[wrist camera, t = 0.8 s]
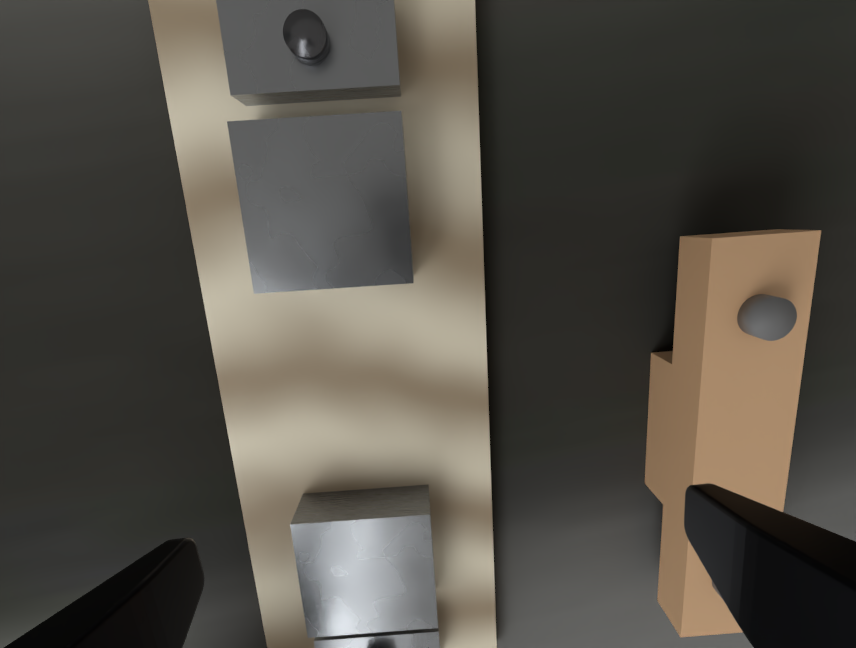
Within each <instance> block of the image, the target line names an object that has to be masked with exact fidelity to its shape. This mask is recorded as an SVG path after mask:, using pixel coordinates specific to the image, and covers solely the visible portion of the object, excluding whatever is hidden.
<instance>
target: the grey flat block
mask: <svg viewBox="0 0 856 648" xmlns="http://www.w3.org/2000/svg"><path fill="white" fill-rule="evenodd" d="M216 4H217V10H218V17H219V24H220V30H221V37H222V43H223V50H224V56H225V63H226V69H227V76H228V82H229V89H230V95H231V96H232V97H234V98H235V99H237V100H238V101H240V102H241V103H243V104H244V105H246V106H256V105H272V104H289V103H305V102H321V101H337V100H354V99H370V98H386V97H401V87H400V73H399V59H398V44H397V30H396V16H395V4H394V0H216ZM227 125H228V131H229V138H230V144H231V151H232V157H233V163H234V170H235V176H236V183H237V189H238V195H239V202H240V208H241V214H242V221H243V227H244V234H245V240H246V246H247V253H248V259H249V266H250V272H251V278H252V285H253V291H254V294H259V293H274V292H289V291H304V290H319V289H334V288H349V287H364V286H379V285H394V284H409V283H414V271H413V257H412V243H411V228H410V214H409V200H408V186H407V172H406V158H405V143H404V129H403V119H402V112H401V111H387V112H371V113H355V114H339V115H323V116H307V117H290V118H274V119H258V120H242V121H227Z"/></svg>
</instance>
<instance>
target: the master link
mask: <svg viewBox="0 0 856 648" xmlns="http://www.w3.org/2000/svg"><path fill="white" fill-rule="evenodd" d="M820 236H821V230H786V229H774V230H761V231H747V232H733V233H719V234H706V235H692V236H680V245H679V261H678V277H677V293H676V309H675V325H674V341H673V351H666V352H653V353H651V366H650V387H649V407H648V427H647V447H646V468H645V484H646V485H647V487H648V488H649V489H650V490H651V491H652V492H653V493H654V495H655V496H656V497H657V498H658V499H659V500H660V502H661V503H662V504H663V518H662V534H661V550H660V566H659V582H658V598H657V601H658V602H659V604H660V605H661V607H662V609H663V610H664V612H665V613H666V615H667V617H668V618H669V620H670V621H671V623H672V624H673V626H674V628H675V629H676V631H677V632H678V634H679V636H680V637H690V636H703V635H715V634H728V633H740V632H743V631H742V630H741V628H740V627H739V625H738V624H737V622H736V620H735V619H734V617H733V616H732V614H731V612H730V611H729V609H728V607H727V605H726V604H725V602H724V600H723V599H722V597H721V595H720V593H719V592H718V590H717V588H716V586H715V585H714V583H713V581H712V580H711V578H710V576H709V574H708V573H707V571H706V569H705V567H704V566H703V564H702V562H701V561H700V559H699V557H698V555H697V554H696V552H695V550H694V548H693V547H692V545H691V543H690V542H689V540H688V538H687V535H686V533H685V529H684V508H685V492H686V489H687V487H689V486H690V485H697V484H706V483H711V484H715V485H717V486H720V487H722V488H725V489H727V490H729V491H732V492H734V493H737V494H739V495H742V496H744V497H747V498H749V499H752V500H754V501H757V502H759V503H761V504H764V505H766V506H769V507H771V508H774V509H776V510H779V511H781V512H783V509H784V502H785V495H786V487H787V480H788V472H789V465H790V458H791V450H792V443H793V435H794V428H795V421H796V413H797V406H798V399H799V391H800V384H801V376H802V369H803V362H804V354H805V347H806V339H807V332H808V325H809V317H810V310H811V303H812V295H813V288H814V280H815V273H816V266H817V258H818V251H819V243H820Z"/></svg>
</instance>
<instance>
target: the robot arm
mask: <svg viewBox="0 0 856 648" xmlns="http://www.w3.org/2000/svg"><path fill="white" fill-rule="evenodd" d="M684 529H685V533H686V535H687V538H688V540H689V542H690V543H691V545H692V547H693V548H694V550H695V552H696V554H697V555H698V557H699V559H700V561H701V562H702V564H703V566H704V567H705V569H706V571H707V573H708V574H709V576H710V578H711V580H712V581H713V583H714V585H715V586H716V588H717V590H718V592H719V593H720V595H721V597H722V599H723V600H724V602H725V604H726V605H727V607H728V609H729V611H730V612H731V614H732V616H733V617H734V619H735V620H736V622H737V624H738V625H739V627H740V628H741V630H742V631H743V633H744V634H745V636H746V637H747V639H748V640H749V642H750V643H751V644H752V646H753V647H754V648H856V542H855V541H853V540H850V539H848V538H845V537H843V536H840V535H838V534H835V533H833V532H830V531H828V530H826V529H823V528H821V527H818V526H816V525H813V524H811V523H808V522H806V521H803V520H801V519H798V518H796V517H793V516H791V515H789V514H786V513H784V512H781V511H779V510H776V509H774V508H771V507H769V506H766V505H764V504H761V503H759V502H757V501H754V500H752V499H749V498H747V497H744V496H742V495H739V494H737V493H734V492H732V491H729V490H727V489H725V488H722V487H720V486H717V485H715V484H711V483H706V484H697V485H690V486H689V487H687V489H686V492H685V508H684ZM203 586H204V573H203V569H202V565H201V561H200V557H199V554H198V550H197V546H196V543H195V541H194V540H193V539H191V538H182V539H172V540H168V541H166V542H164V543H163V544H161V545H160V546H158V547H157V548H155V549H154V550H152V551H151V552H149V553H148V554H146V555H144V556H143V557H141V558H140V559H138V560H137V561H135V562H134V563H132V564H131V565H129V566H128V567H126V568H125V569H123V570H122V571H120V572H119V573H117V574H115V575H114V576H112V577H111V578H109V579H108V580H106V581H105V582H103V583H102V584H100V585H99V586H97V587H96V588H94V589H93V590H91V591H90V592H88V593H86V594H85V595H83V596H82V597H80V598H79V599H77V600H76V601H74V602H73V603H71V604H70V605H68V606H67V607H65V608H64V609H62V610H61V611H59V612H57V613H56V614H54V615H53V616H51V617H50V618H48V619H47V620H45V621H44V622H42V623H41V624H39V625H38V626H36V627H35V628H33V629H32V630H30V631H28V632H27V633H25V634H24V635H22V636H21V637H19V638H18V639H16V640H15V641H13V642H12V643H10V644H9V645H7V646H6V647H4V648H183V645H184V642H185V639H186V636H187V634H188V631H189V628H190V625H191V622H192V619H193V617H194V614H195V611H196V608H197V605H198V602H199V599H200V597H201V594H202V591H203Z"/></svg>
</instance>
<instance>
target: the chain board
mask: <svg viewBox="0 0 856 648" xmlns="http://www.w3.org/2000/svg"><path fill="white" fill-rule="evenodd" d="M148 2H149V7H150V13H151V18H152V24H153V29H154V35H155V40H156V45H157V51H158V56H159V62H160V67H161V73H162V78H163V84H164V89H165V94H166V100H167V105H168V111H169V116H170V122H171V127H172V132H173V138H174V143H175V149H176V154H177V160H178V165H179V170H180V176H181V181H182V187H183V192H184V198H185V203H186V209H187V214H188V219H189V225H190V230H191V236H192V241H193V247H194V252H195V257H196V263H197V268H198V274H199V279H200V285H201V290H202V296H203V301H204V306H205V312H206V317H207V323H208V328H209V334H210V339H211V344H212V350H213V355H214V361H215V366H216V372H217V377H218V382H219V388H220V393H221V399H222V404H223V410H224V415H225V421H226V426H227V431H228V437H229V442H230V448H231V453H232V459H233V464H234V469H235V475H236V480H237V486H238V491H239V497H240V502H241V508H242V513H243V518H244V524H245V529H246V535H247V540H248V546H249V551H250V556H251V562H252V567H253V573H254V578H255V584H256V589H257V595H258V600H259V605H260V611H261V616H262V622H263V627H264V633H265V638H266V643H267V648H315V645H314V639H315V637H312V638H308V636H307V630H306V624H305V617H304V611H303V604H302V598H301V592H300V585H299V579H298V572H297V566H296V560H295V553H294V547H293V540H292V534H291V528H290V524H291V521H292V519H293V516H294V514H295V511H296V509H297V507H298V504H299V502H300V499H301V497H302V495H303V494H304V493H317V492H331V491H345V490H359V489H373V488H387V487H401V486H415V485H429V497H430V511H431V525H432V540H433V554H434V568H435V582H436V598H437V610H438V625H439V639H440V648H497V640H496V610H495V580H494V551H493V521H492V491H491V461H490V431H489V402H488V372H487V342H486V312H485V282H484V253H483V223H482V193H481V163H480V133H479V104H478V74H477V44H476V14H475V0H394V4H395V16H396V30H397V44H398V59H399V73H400V87H401V97H386V98H370V99H354V100H337V101H321V102H305V103H289V104H272V105H256V106H246V105H244V104H243V103H241V102H240V101H238V100H237V99H235V98H234V97H232V96H231V95H230V89H229V82H228V76H227V69H226V63H225V56H224V50H223V43H222V37H221V30H220V24H219V17H218V10H217V4H216V0H148ZM387 111H401V112H402V119H403V129H404V143H405V158H406V172H407V186H408V200H409V214H410V228H411V243H412V257H413V271H414V283H409V284H394V285H379V286H364V287H349V288H334V289H319V290H304V291H289V292H274V293H259V294H254V291H253V285H252V278H251V272H250V266H249V259H248V253H247V246H246V240H245V234H244V227H243V221H242V214H241V208H240V202H239V195H238V189H237V183H236V176H235V170H234V163H233V157H232V151H231V144H230V138H229V131H228V125H227V121H242V120H258V119H274V118H290V117H307V116H323V115H339V114H355V113H371V112H387Z"/></svg>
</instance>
